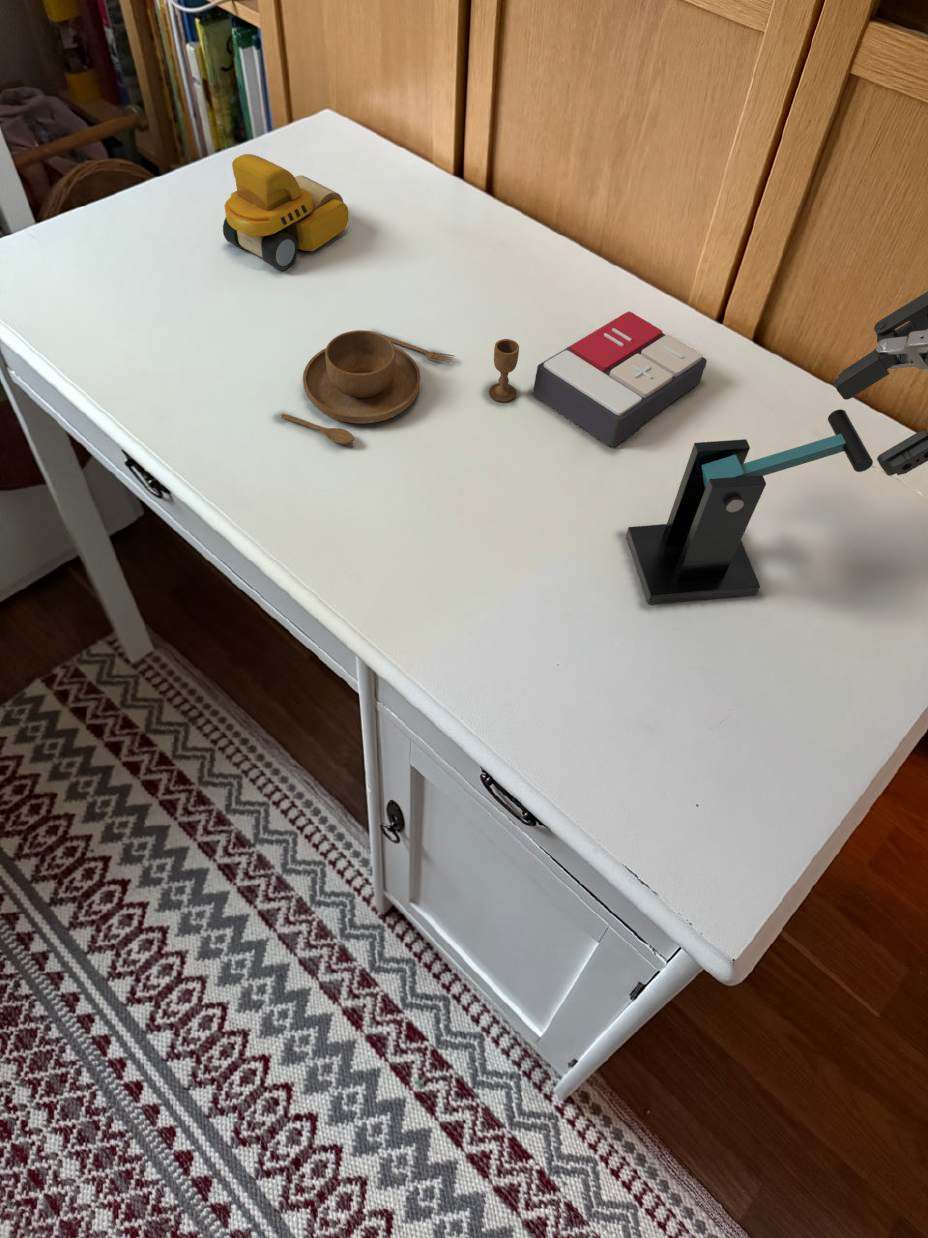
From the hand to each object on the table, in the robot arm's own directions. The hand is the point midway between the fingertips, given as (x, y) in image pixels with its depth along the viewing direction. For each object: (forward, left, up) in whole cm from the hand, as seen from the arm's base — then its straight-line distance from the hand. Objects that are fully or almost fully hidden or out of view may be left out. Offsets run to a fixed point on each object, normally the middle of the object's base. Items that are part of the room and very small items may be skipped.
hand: (859, 428), depth 70 cm
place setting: (+41, -3, -16) cm, 44 cm away
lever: (+4, +2, -4) cm, 6 cm away
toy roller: (+65, -23, -16) cm, 71 cm away
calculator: (+21, -15, -16) cm, 31 cm away
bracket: (+8, +5, -16) cm, 18 cm away
